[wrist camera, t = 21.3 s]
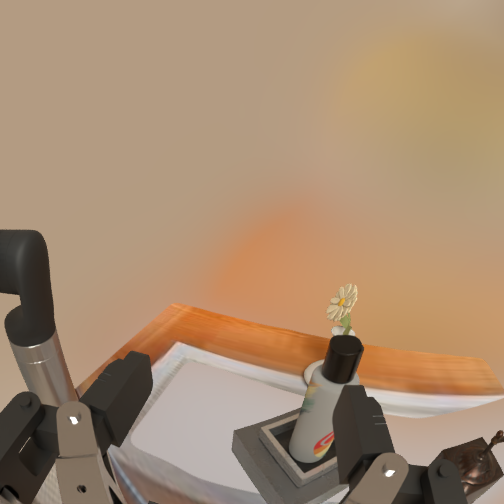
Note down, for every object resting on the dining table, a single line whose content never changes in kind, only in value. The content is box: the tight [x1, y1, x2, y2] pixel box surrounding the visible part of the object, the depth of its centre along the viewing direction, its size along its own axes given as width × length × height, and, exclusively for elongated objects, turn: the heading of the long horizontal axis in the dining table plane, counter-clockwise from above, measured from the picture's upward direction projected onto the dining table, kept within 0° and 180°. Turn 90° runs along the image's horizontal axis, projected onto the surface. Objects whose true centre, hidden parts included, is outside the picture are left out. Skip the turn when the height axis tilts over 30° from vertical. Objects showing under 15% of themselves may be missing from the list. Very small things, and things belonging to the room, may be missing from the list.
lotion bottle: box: [289, 335, 364, 463], centre depth 30 cm, size 6×6×20 cm
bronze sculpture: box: [428, 430, 504, 504], centre depth 20 cm, size 16×11×18 cm
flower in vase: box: [304, 283, 358, 385], centre depth 52 cm, size 13×11×25 cm
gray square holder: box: [232, 407, 349, 504], centre depth 33 cm, size 16×16×9 cm
